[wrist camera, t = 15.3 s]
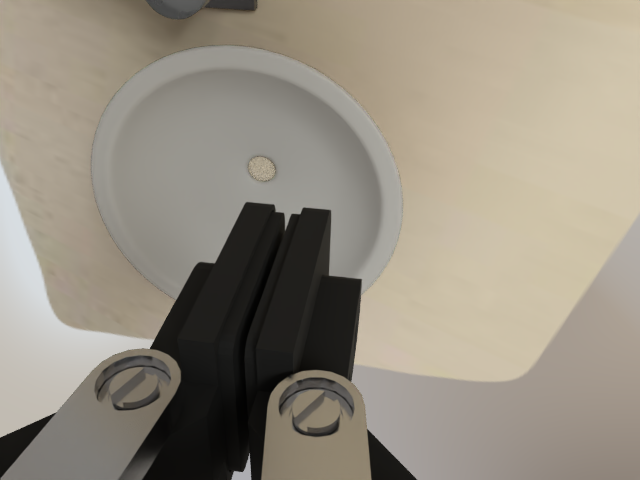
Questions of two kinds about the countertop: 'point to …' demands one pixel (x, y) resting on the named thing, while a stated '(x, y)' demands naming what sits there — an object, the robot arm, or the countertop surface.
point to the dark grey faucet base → (233, 4)
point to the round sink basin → (240, 161)
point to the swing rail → (177, 7)
